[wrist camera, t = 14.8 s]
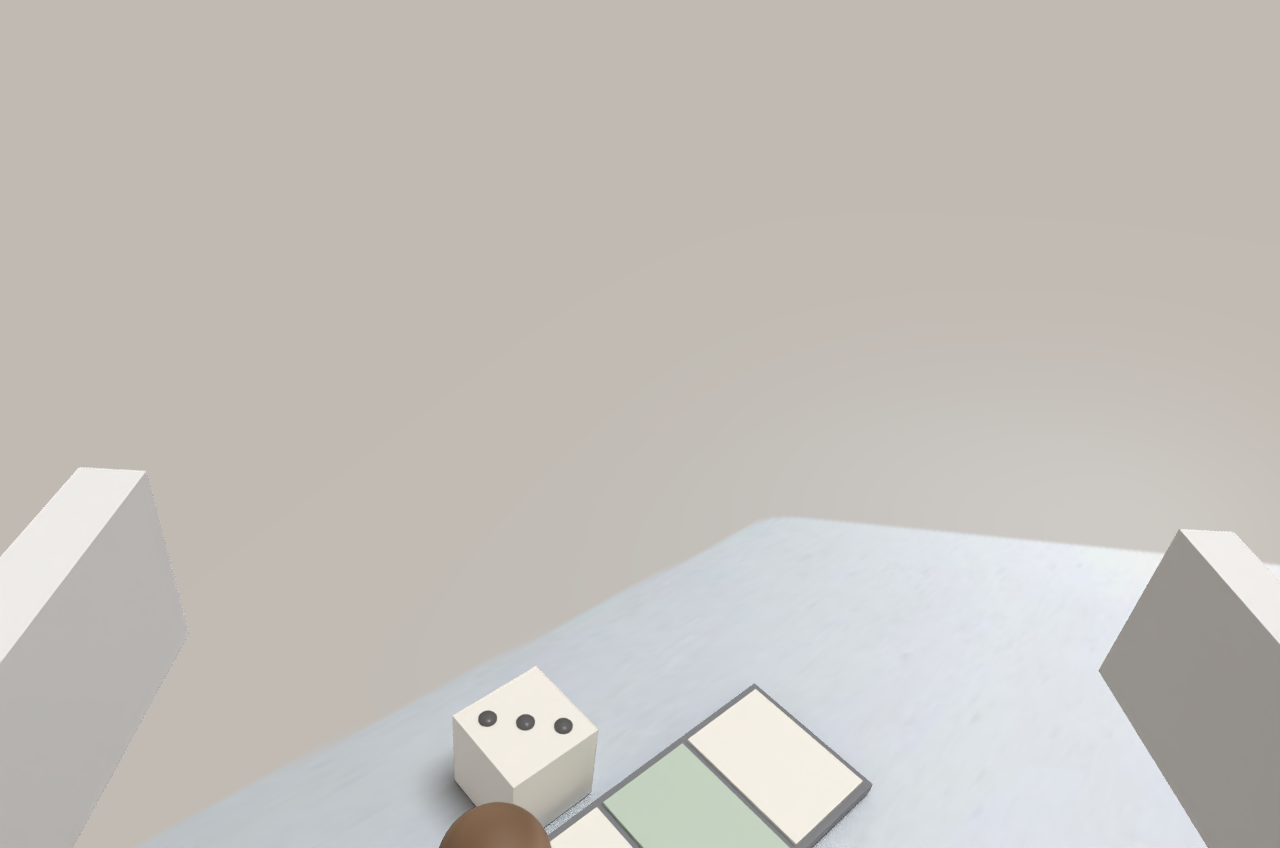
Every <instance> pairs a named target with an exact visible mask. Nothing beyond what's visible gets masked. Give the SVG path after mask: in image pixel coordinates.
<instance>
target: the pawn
mask: <svg viewBox="0 0 1280 848" xmlns="http://www.w3.org/2000/svg"><path fill="white" fill-rule="evenodd" d="M439 848H551V844H550V840H549V838H548V835H547V833H546V831H545V830H544V828H543V826H542V825H541V823H540V822H539V821H538V819H536V818H535V817H534V816H533V815H532V814H531V813H530V812H528V811H527V810H525V809H524V808H522V807H520V806H517V805H515V804H511V803H505V802H492V803H486V804H482V805H479V806H477V807H475V808H473V809H471V810H469V811H467V812H466V813H464V814H463V815H462V816H461V817H460V818H458V819H457V820H456V821H455V822H454V823H453V824H452V826H451V827H450V828H449V830H448V831H447V833H446V834H445V836H444V838H443V840H442V842H441V844H440V847H439Z"/></svg>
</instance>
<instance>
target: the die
mask: <svg viewBox="0 0 1280 848" xmlns="http://www.w3.org/2000/svg"><path fill="white" fill-rule="evenodd" d="M597 737H598V729H597V728H596V727H595V726H594V725H593V724H592V723H591V722H590V721H589V720H588V719H587V718H586V717H585V716H584V715H583V714H582V713H581V712H580V711H579V710H578V709H577V708H576V707H575V706H574V704H573V703H572V702H571V701H570V700H569V699H568V698H567V697H566V696H565V695H564V694H563V693H562V692H561V691H560V690H559V689H558V688H557V687H556V686H555V685H554V684H553V683H552V682H551V681H550V680H549V679H548V678H547V677H546V676H545V675H544V674H543V673H542V672H541V671H540V670H539V669H538V668H537V667H536V666H535V667H534V668H532V669H530V670H529V671H527V672H525V673H523V674H522V675H520V676H518V677H517V678H515V679H513V680H512V681H510V682H508V683H507V684H505V685H503V686H502V687H500V688H498V689H497V690H495V691H493V692H491V693H490V694H488V695H486V696H485V697H483V698H481V699H480V700H478V701H476V702H475V703H473V704H471V705H470V706H468V707H466V708H465V709H463V710H461V711H460V712H458V713H456V714H454V715H453V746H454V779H455V780H456V782H457V783H458V784H459V786H460V787H461V788H462V789H463V791H464V792H465V793H466V794H467V796H468V797H469V798H470V799H471V801H472V802H473V803H474V805H475V806H476V807H477V806H479V805H482V804H486V803H492V802H505V803H511V804H515V805H517V806H520V807H522V808H524V809H525V810H527V811H528V812H530V813H531V814H532V815H533V816H534V817H535V818H536V819H538V821H539V822H540V823H541V825H542V826H543V828H544V827H545V826H547V825H548V824H549V823H551V822H552V821H553V820H555V819H556V818H557V817H559V816H560V815H561V814H563V813H564V812H565V811H567V810H568V809H569V808H571V807H572V806H573V805H575V804H576V803H577V802H579V801H580V800H582V799H583V798H584V797H586V796H587V795H588V794H590V793H591V790H592V781H593V772H594V763H595V755H596V746H597Z"/></svg>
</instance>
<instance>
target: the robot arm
mask: <svg viewBox="0 0 1280 848" xmlns="http://www.w3.org/2000/svg"><path fill="white" fill-rule="evenodd" d="M188 635H189V630H188V627H187V623H186V619H185V615H184V611H183V608H182V604H181V601H180V597H179V593H178V589H177V585H176V581H175V577H174V574H173V570H172V566H171V562H170V559H169V555H168V551H167V547H166V543H165V540H164V536H163V532H162V528H161V525H160V521H159V517H158V514H157V509H156V506H155V502H154V498H153V494H152V491H151V487H150V483H149V479H148V475H147V472H146V471H137V470H119V469H101V468H82V467H79V468H78V469H77V470H76V472H75V473H74V474H73V475H72V476H71V477H70V478H69V480H68V481H67V482H66V483H65V484H64V485H63V486H62V487H61V489H60V490H59V491H58V492H57V493H56V494H55V495H54V497H53V498H52V499H51V500H50V501H49V502H48V503H47V505H46V506H45V507H44V508H43V509H42V510H41V511H40V512H39V514H38V515H37V516H36V517H35V518H34V519H33V521H32V522H31V523H30V524H29V525H28V526H27V527H26V528H25V530H24V531H23V532H22V533H21V534H20V535H19V536H18V537H17V539H16V540H15V541H14V542H13V543H12V544H11V545H10V547H9V548H8V549H7V550H6V551H5V552H4V553H3V555H2V556H1V557H0V848H73V847H74V845H75V843H76V841H77V839H78V837H79V836H80V834H81V832H82V830H83V828H84V826H85V824H86V823H87V821H88V819H89V817H90V815H91V813H92V812H93V810H94V808H95V806H96V804H97V802H98V800H99V798H100V797H101V795H102V793H103V791H104V789H105V788H106V786H107V784H108V782H109V780H110V778H111V777H112V775H113V773H114V771H115V769H116V767H117V765H118V764H119V762H120V760H121V758H122V756H123V754H124V753H125V750H126V749H127V747H128V745H129V743H130V742H131V740H132V738H133V736H134V734H135V732H136V730H137V729H138V727H139V725H140V723H141V721H142V719H143V718H144V716H145V714H146V712H147V710H148V708H149V707H150V705H151V703H152V701H153V699H154V697H155V695H156V694H157V692H158V690H159V688H160V686H161V684H162V683H163V681H164V679H165V677H166V675H167V673H168V672H169V670H170V668H171V666H172V664H173V662H174V660H175V659H176V657H177V655H178V653H179V651H180V649H181V648H182V646H183V644H184V642H185V640H186V638H187V637H188ZM1099 672H1100V674H1101V675H1102V677H1103V679H1104V680H1105V682H1106V684H1107V685H1108V687H1109V688H1110V690H1111V692H1112V693H1113V695H1114V696H1115V698H1116V700H1117V701H1118V703H1119V705H1120V706H1121V708H1122V709H1123V711H1124V713H1125V714H1126V716H1127V718H1128V719H1129V721H1130V722H1131V724H1132V726H1133V727H1134V729H1135V730H1136V732H1137V734H1138V735H1139V737H1140V739H1141V740H1142V742H1143V743H1144V745H1145V747H1146V748H1147V750H1148V752H1149V753H1150V755H1151V756H1152V758H1153V760H1154V761H1155V763H1156V764H1157V766H1158V768H1159V769H1160V771H1161V773H1162V774H1163V776H1164V777H1165V779H1166V781H1167V782H1168V784H1169V785H1170V787H1171V789H1172V790H1173V792H1174V794H1175V795H1176V797H1177V798H1178V800H1179V802H1180V803H1181V805H1182V807H1183V808H1184V810H1185V811H1186V813H1187V815H1188V816H1189V818H1190V819H1191V821H1192V823H1193V824H1194V826H1195V828H1196V829H1197V831H1198V832H1199V834H1200V836H1201V837H1202V839H1203V841H1204V842H1205V844H1206V845H1207V847H1208V848H1280V581H1279V579H1278V578H1277V577H1276V576H1275V575H1274V574H1273V573H1272V572H1271V571H1270V570H1269V569H1268V568H1267V567H1266V566H1265V565H1264V564H1263V563H1262V562H1261V561H1260V559H1259V558H1258V557H1257V556H1255V554H1254V553H1253V552H1252V551H1251V550H1250V549H1249V548H1248V547H1247V546H1246V545H1245V544H1244V543H1243V542H1242V541H1241V540H1240V538H1239V537H1237V535H1236V534H1235V533H1234V532H1223V531H1221V532H1220V531H1204V530H1187V529H1179V531H1178V532H1177V534H1176V536H1175V538H1174V539H1173V541H1172V543H1171V545H1170V546H1169V548H1168V550H1167V552H1166V553H1165V555H1164V557H1163V559H1162V560H1161V562H1160V564H1159V566H1158V567H1157V569H1156V571H1155V573H1154V574H1153V576H1152V578H1151V580H1150V581H1149V583H1148V585H1147V587H1146V588H1145V590H1144V592H1143V594H1142V595H1141V597H1140V599H1139V601H1138V602H1137V604H1136V606H1135V608H1134V609H1133V611H1132V613H1131V615H1130V616H1129V618H1128V620H1127V622H1126V623H1125V625H1124V627H1123V629H1122V631H1121V632H1120V634H1119V636H1118V638H1117V639H1116V641H1115V643H1114V645H1113V646H1112V648H1111V650H1110V652H1109V653H1108V655H1107V657H1106V659H1105V660H1104V662H1103V664H1102V666H1101V667H1100V669H1099Z"/></svg>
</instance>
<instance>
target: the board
mask: <svg viewBox="0 0 1280 848" xmlns="http://www.w3.org/2000/svg"><path fill="white" fill-rule="evenodd" d="M871 787H872V783H870V782H869V781H868V780H867V779H866V778H865V777H863V776H862V775H861V774H860V773H859V772H858V771H856V770H855V769H854V768H853V767H852V766H851V765H849V764H848V763H847V762H846V761H845V760H843V759H842V758H841V757H840V756H839V755H838V754H836V753H835V752H834V751H833V750H832V749H831V748H829V747H828V746H827V745H826V744H825V743H824V742H822V741H821V740H820V739H819V738H818V737H817V736H815V735H814V734H813V733H812V732H811V731H810V730H808V729H807V728H806V727H805V726H804V725H802V724H801V723H800V722H799V721H798V720H797V719H795V718H794V717H793V716H792V715H791V714H790V713H788V712H787V711H786V710H785V709H784V708H783V707H781V706H780V705H779V704H778V703H777V702H776V701H774V700H773V699H772V698H771V697H770V696H769V695H767V694H766V693H765V692H764V691H763V690H762V689H760V688H759V687H758V686H757V685H756V684H753V685H752V686H750V687H749V688H748V689H746V690H745V691H743V692H742V693H741V694H739V695H738V696H737V697H735V698H734V699H733V700H731V701H730V702H729V703H727V704H726V705H724V706H723V707H722V708H720V709H719V710H718V711H716V712H715V713H714V714H712V715H711V716H710V717H708V718H707V719H705V720H704V721H703V722H701V723H700V724H699V725H697V726H696V727H695V728H693V729H692V730H691V731H689V732H688V733H686V734H685V735H684V736H682V737H681V738H680V739H678V740H677V741H676V742H674V743H673V744H672V745H670V746H669V747H667V748H666V749H665V750H663V751H662V752H661V753H659V754H658V755H657V756H655V757H654V758H653V759H651V760H650V761H648V762H647V763H646V764H644V765H643V766H642V767H640V768H639V769H638V770H636V771H635V772H633V773H632V774H631V775H629V776H628V777H627V778H625V779H624V780H623V781H621V782H620V783H619V784H617V785H616V786H614V787H613V788H612V789H610V790H609V791H608V792H606V793H605V794H604V795H602V796H601V797H600V798H598V799H597V800H595V801H594V802H593V803H591V804H590V805H589V806H587V807H586V808H585V809H583V810H582V811H581V812H579V813H578V814H576V815H575V816H574V817H572V818H571V819H570V820H568V821H567V822H566V823H564V824H563V825H562V826H560V827H559V828H557V829H556V830H555V831H553V832H552V833H551V834H549V835H548V838H549V840H550V844H551V848H812V847H813V846H814V845H815V844H816V843H817V842H818V841H819V840H820V839H821V838H822V837H823V836H824V835H825V834H826V833H827V832H828V831H829V830H830V829H831V828H832V827H833V826H834V825H835V824H836V823H837V822H838V821H839V820H840V819H842V818H843V817H844V816H845V815H846V814H847V813H848V812H849V811H850V810H851V809H852V808H853V807H854V806H855V805H856V804H857V803H858V802H859V801H860V800H861V799H862V798H863V797H864V796H865V795H866V794H867V793H868V792H869V791H870V789H871Z"/></svg>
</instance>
